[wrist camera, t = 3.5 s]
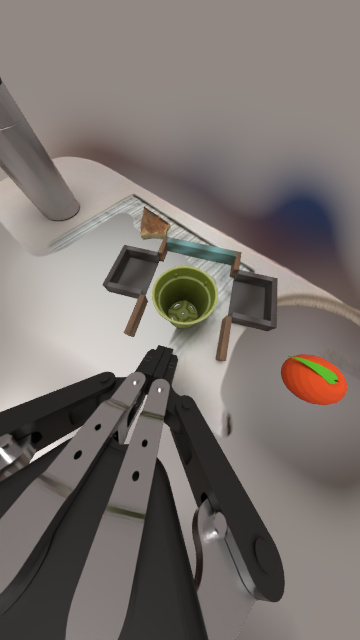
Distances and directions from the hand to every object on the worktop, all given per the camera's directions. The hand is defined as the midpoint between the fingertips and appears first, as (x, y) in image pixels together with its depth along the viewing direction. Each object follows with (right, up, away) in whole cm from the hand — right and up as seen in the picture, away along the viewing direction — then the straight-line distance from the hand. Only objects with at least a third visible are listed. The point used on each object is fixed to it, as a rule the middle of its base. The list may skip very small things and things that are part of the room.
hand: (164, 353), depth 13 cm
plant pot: (+2, +4, +14) cm, 15 cm away
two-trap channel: (+3, +9, +15) cm, 18 cm away
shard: (-7, +28, +23) cm, 37 cm away
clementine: (+21, -6, +10) cm, 24 cm away
